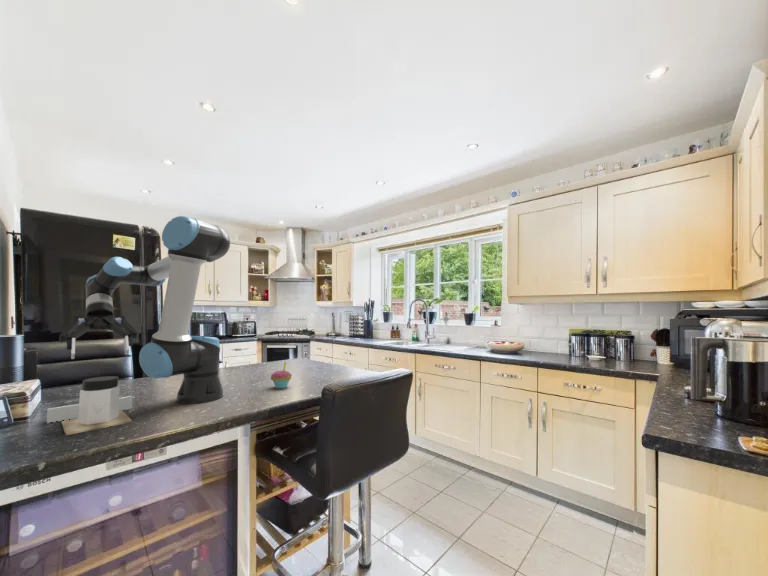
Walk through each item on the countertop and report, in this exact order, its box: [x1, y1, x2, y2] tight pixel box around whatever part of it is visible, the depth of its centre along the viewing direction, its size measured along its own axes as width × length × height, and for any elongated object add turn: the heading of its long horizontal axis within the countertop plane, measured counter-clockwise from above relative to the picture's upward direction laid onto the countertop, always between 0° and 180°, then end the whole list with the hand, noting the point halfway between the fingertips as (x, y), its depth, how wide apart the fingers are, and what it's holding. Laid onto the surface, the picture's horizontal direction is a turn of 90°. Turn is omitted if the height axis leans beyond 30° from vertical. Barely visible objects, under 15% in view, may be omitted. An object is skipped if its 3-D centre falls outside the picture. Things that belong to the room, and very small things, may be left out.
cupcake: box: [270, 360, 293, 389], centre depth 142 cm, size 9×8×12 cm
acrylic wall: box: [46, 395, 133, 424], centre depth 104 cm, size 20×1×4 cm, turn 138°
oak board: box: [61, 410, 133, 436], centre depth 97 cm, size 14×14×1 cm
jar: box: [78, 375, 121, 425], centre depth 97 cm, size 9×8×12 cm
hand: (101, 354), depth 109 cm, fingers open, 13 cm apart
